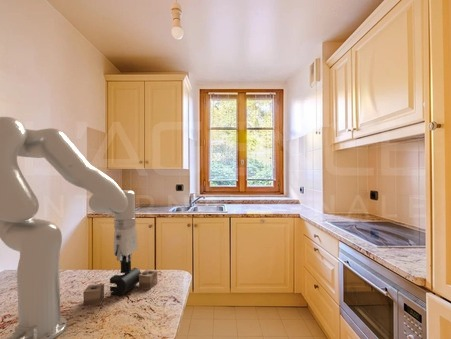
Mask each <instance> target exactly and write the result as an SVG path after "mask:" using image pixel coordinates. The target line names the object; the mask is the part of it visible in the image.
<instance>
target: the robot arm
mask: <svg viewBox="0 0 451 339" xmlns="http://www.w3.org/2000/svg"><path fill="white" fill-rule="evenodd" d="M18 157H22V158H23V157H24V158H32V159H33V158H34V159H41V158H44V159H45V161H47V162H48V163H49V164H50V166H52V167H53V169H55V171H57V172H58V174H60V176H61V177H62V178H63V179H64V180H65V181H67V182H68V183H70V184H72V185H73V186H76V187H78V188H80V189H83V190H86V191H88V192H90V193H92V195H91V196H90V197H89V200H88V207H89V208H90V210H92V211H93V212H96V213H100V214H107V215H109V214H110V215H113V228H114V235H113V254H114V256H115V257H116V261H119V263H120V272H122V273H121V274H125V273H129V272H130V271H131V270H132V261H131V260H132V256H133V255H132V254H133V253H134V252H135V251H136V250H138V249H139V248H138V232H137V226H136V224H137V223H136V194H135V192H134V191H133V190H130V189H129V190H128V189H126V190H125V189H124V190H123V189H122V188H121V187H120V185H118V184H117V182H116V181H115V180H114V179H113V178H111V177H110V176H108V175H107V174H106V173H104V172H103V171H101V170H100V169H99V168H97V167H95V166H94V165H92V164H91V163H90V161H89V160H87V158H86V157H85V156H84V155H83V153H82V152H81V151H80V150H79V149H78V147H77V146H76V145H75V144H74V143H73V142H72V141H71V139H70V138H69V137H68V136H67V135H66V133H65V132H63V131H61V130H60V129H57V128H51V127H50V128H49V127H48V128H43V129H38V130H37V129H27V128H25V125H24V124H23V123H22V122H21V121H20V120H18V119H16V118H14V117H11V116H0V240H1V241H2V243H3V244H4V245H5V246H6V247H8V248H9V249H11V250H13V251H17V252H19V260H18V264H17V268H16V269H17V271H16V283H17V317H18V318H17V319H18V320H17V322H18V323H17V324H18V325H17V326H15V327H14V332H13V333H12V334H11V335H10V337H8V338H7V339H55V338H57V337H58V336H60V335H61V334H63V332H64V331H65V330H66V328H67V326H68V321H67V318H65V317H63V316H61V286H60V285H61V283H60V282H61V281H60V255H61V254H60V253H61V249H62V248H61V247H62V242H63V235H62V231H61V229H60V228H59V226H58V225H57V224H56V223H53V222H52V221H49V220H45V219H40V218H39V219H38V218H36V217H35V216H36V214H37V213H38V211H39V208H40V202H39V200H38V197H37V196H36V194H35V193H34V191H33V189H32V188H31V186H30V185H29V183H28V181H27V180H26V178H25V177H24V174H23V173H22V171H21V168H20V166H19V163H18Z"/></svg>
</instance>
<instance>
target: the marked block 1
mask: <svg viewBox="0 0 451 339" xmlns="http://www.w3.org/2000/svg"><path fill="white" fill-rule="evenodd" d="M82 293H83V294H82V295H83V307H85V308H86V307H94V306H100V305H101V304H102V303H103V300H104V299H105V283H99V284H98V283H97V284H89V285H88V286H87V287H86V288H85V290H83V292H82Z"/></svg>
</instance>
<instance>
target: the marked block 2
mask: <svg viewBox="0 0 451 339" xmlns="http://www.w3.org/2000/svg"><path fill="white" fill-rule="evenodd" d="M156 285H158V270H152V269H151V270H149V269H146V270H145V271H143V272H141V274H140V275H139V282H138V288H139V289H145V290H151V289H153V288H154V287H156Z"/></svg>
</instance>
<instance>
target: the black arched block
mask: <svg viewBox="0 0 451 339" xmlns="http://www.w3.org/2000/svg"><path fill="white" fill-rule="evenodd" d="M141 273H142V272H141V270H140V269H138V268H137V267H134V268H131V271H130V272H129V273H122V272H121V271H120V274H114V275H113V276H111V277H110V278H109V284H113V285H114V284H115V285H116V286H113V285H111V286H109V291H110V295H111V296H117V297H122V296H123V295H125V294H126V293H127V292H128V291H130V290H131V289H133V288H134V287H135V286H136V285H138V284H139V275H140V274H141Z"/></svg>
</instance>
